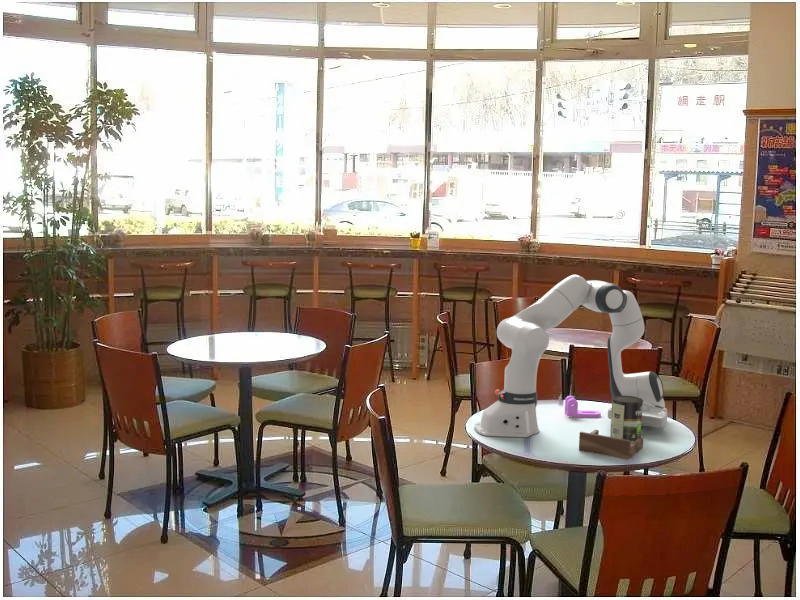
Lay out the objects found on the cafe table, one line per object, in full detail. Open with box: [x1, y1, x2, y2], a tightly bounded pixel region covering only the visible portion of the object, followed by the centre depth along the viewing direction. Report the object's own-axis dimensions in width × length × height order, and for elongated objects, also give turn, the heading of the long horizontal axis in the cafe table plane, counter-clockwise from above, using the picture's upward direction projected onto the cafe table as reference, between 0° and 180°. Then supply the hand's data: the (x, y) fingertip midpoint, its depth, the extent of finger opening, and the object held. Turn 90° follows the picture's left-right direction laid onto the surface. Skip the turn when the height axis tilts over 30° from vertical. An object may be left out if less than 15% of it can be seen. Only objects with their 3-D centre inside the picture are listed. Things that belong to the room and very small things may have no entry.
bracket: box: [564, 395, 602, 418], centre depth 313 cm, size 13×6×7 cm, turn 89°
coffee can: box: [609, 396, 643, 444], centre depth 283 cm, size 10×10×14 cm
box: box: [578, 429, 644, 461], centre depth 272 cm, size 15×16×6 cm
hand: (630, 421), depth 288 cm, fingers closed
